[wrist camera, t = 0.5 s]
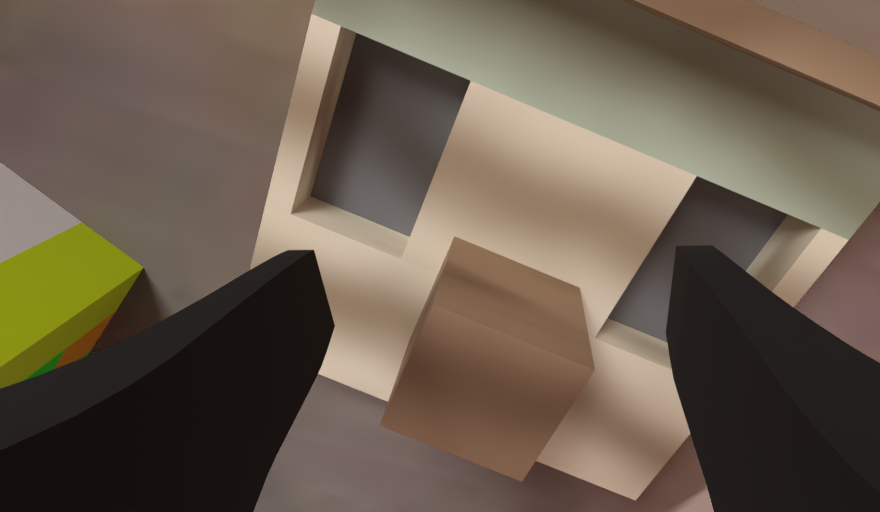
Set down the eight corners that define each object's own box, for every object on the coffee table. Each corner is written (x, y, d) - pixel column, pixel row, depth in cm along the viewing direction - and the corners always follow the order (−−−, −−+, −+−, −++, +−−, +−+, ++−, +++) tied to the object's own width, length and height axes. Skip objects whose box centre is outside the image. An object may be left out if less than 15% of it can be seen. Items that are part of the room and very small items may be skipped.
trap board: (626, 458, 26) (644, 540, 22) (258, 310, 26) (208, 367, 22) (906, 90, 18) (1016, 116, 14) (375, -139, 17) (330, -181, 13)
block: (522, 385, 22) (521, 481, 18) (409, 339, 22) (379, 425, 18) (579, 287, 20) (595, 370, 16) (454, 236, 20) (433, 304, 15)
